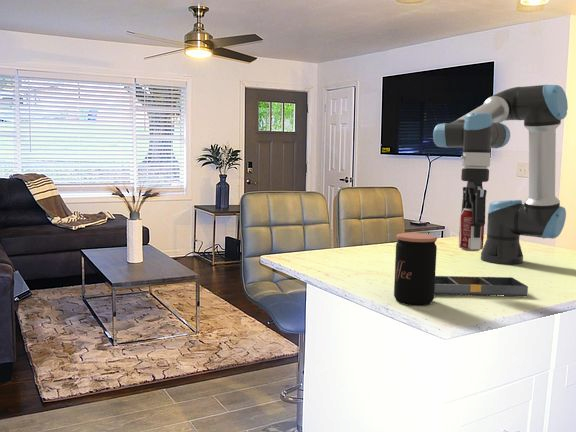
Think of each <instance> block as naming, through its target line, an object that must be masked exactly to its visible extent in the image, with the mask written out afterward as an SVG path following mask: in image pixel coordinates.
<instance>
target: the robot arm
mask: <svg viewBox="0 0 576 432" xmlns="http://www.w3.org/2000/svg"><path fill="white" fill-rule="evenodd" d="M568 107H569V106H568V99H567V94H566V91H565V90H564V88H563V87H562V86H560V85H559V84H542V85H541V84H540V85H529V86H527V85H526V86H515V87H511V88H506V89H504V90H502V91H499V92H497V93H495V94H493V95H492V96H489V97H488V98H487V99H485V101H484V102H483V104H482V105H480V106H477V107H476V108H475V109H473V110H471V111H470V112H468V113H466V114H464V115H463V116H461V117H459V118H458V119H455V120H454V121H452V122H449V123H446V122H443V123H437V125H435V127H434V129H433V133H432V137H433V139H432V140H433V143H434V145H435V146H436V147H439V148H446V149H448V148H452V149H453V148H462V155H461V156H460V159H461V160H462V167H463V168H462V169H461V176H460V178H461V181H462V182H466V186H463V187H462V201H461V202H462V203H461V212H460V214H461V213H462V212H463V208H472V220H473V224H470V226H471V239H470V249H480V246H481V229H482V226H483V225H484V226H486V240H485V243H484V244H483V249H481V252H480V259H481V260H482V261H484V262H488V263H493V264H502V265H503V264H504V265H517V264H522V263H524V255H523V252H522V247H521V244H520V236H525V237H534V238H541V239H556V238H558V237H559V236H560V235H561V233H562V232H563V229H564V227H565V223H566V217H567V211H566V210H567V209H566V208H565V207H563V206H561V205H560V204H561V201H560V200H559V198H557V197H556V159H557V158H556V152H557V151H556V150H557V149H556V147H557V146H556V145H557V144H556V141H557V140H556V139H557V137H556V135H557V134H556V132H557V128H558V127H559V126H560V125H561V123H562V120H564V119H565V118H566V117H567V114H568ZM505 121H523V125H524V126H523V127H524V128H526V129H527V131H528V197H526V199H525V200H524V202H523V200H522V199H508V200H497V201H492V202H490V203H489V205H488V210H487V225H486V201H487V199H486V197H487V189H484V188H483V183H487V182H488V181H489V178H490V169H489V167H490V165H491V149H498V148H504V147H505V146H506V145H507V144H508V143H509V141H510V139H511V131H510V128H509V127H508V126H507V125H506V124H505V123H502V122H505Z"/></svg>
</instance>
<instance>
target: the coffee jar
mask: <svg viewBox="0 0 576 432" xmlns="http://www.w3.org/2000/svg"><path fill="white" fill-rule="evenodd" d="M396 239H397V242H396V244H395V260H394V263H395V264H394V282H393V283H394V286H393V297H394V299H395V300H396V302H398V303H399V304H402V305H406V306H413V307H421V306H422V307H424V306H429V305H430V304H432V302H433V301H434V299H435V295H434V291H435V276H436V271H437V270H436V269H437V249H438V248H437V244H436V241H437V240H438V237H437V236H436V235H435V234H427V233H419V232H403V233H401V232H400V233H397V234H396Z"/></svg>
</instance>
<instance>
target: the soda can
mask: <svg viewBox="0 0 576 432" xmlns="http://www.w3.org/2000/svg"><path fill="white" fill-rule="evenodd" d="M470 224H473V220H472V208H463V212H462V213H461V212H460V217H459V232H458V233H459V235H458V237H459V238H458V248H459V249H461V250H462V251H465V252H479V251H482V250H483V247H484V238H485V237H484V236H485V225H483V226H482V229H481V246H480V249H470V239H471V226H470Z"/></svg>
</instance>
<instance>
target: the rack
mask: <svg viewBox="0 0 576 432" xmlns="http://www.w3.org/2000/svg"><path fill="white" fill-rule="evenodd" d="M528 289H529V286H528V285H526V284H524V283H523V282H521V281H519V280H518V279H516V278H514V277H510V276H508V277H506V276H505V277H502V276H462V275H461V276H460V275H459V276H456V275H455V276H454V275H453V276H452V275H435V291H434V296H468V295H470V296H471V295H472V296H477V297H478V296H479V297H491V296H490V295H496V296H495V297H498V296H497V295H504V296H503V297H517V296H527V297H528V295H529V294H528ZM487 295H488V296H487Z"/></svg>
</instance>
